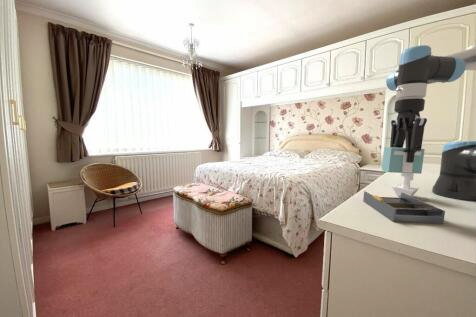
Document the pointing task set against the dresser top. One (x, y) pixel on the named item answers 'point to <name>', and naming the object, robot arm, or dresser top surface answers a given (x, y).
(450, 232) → the dresser top surface
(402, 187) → the figurine
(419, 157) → the teal box
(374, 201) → the tray
